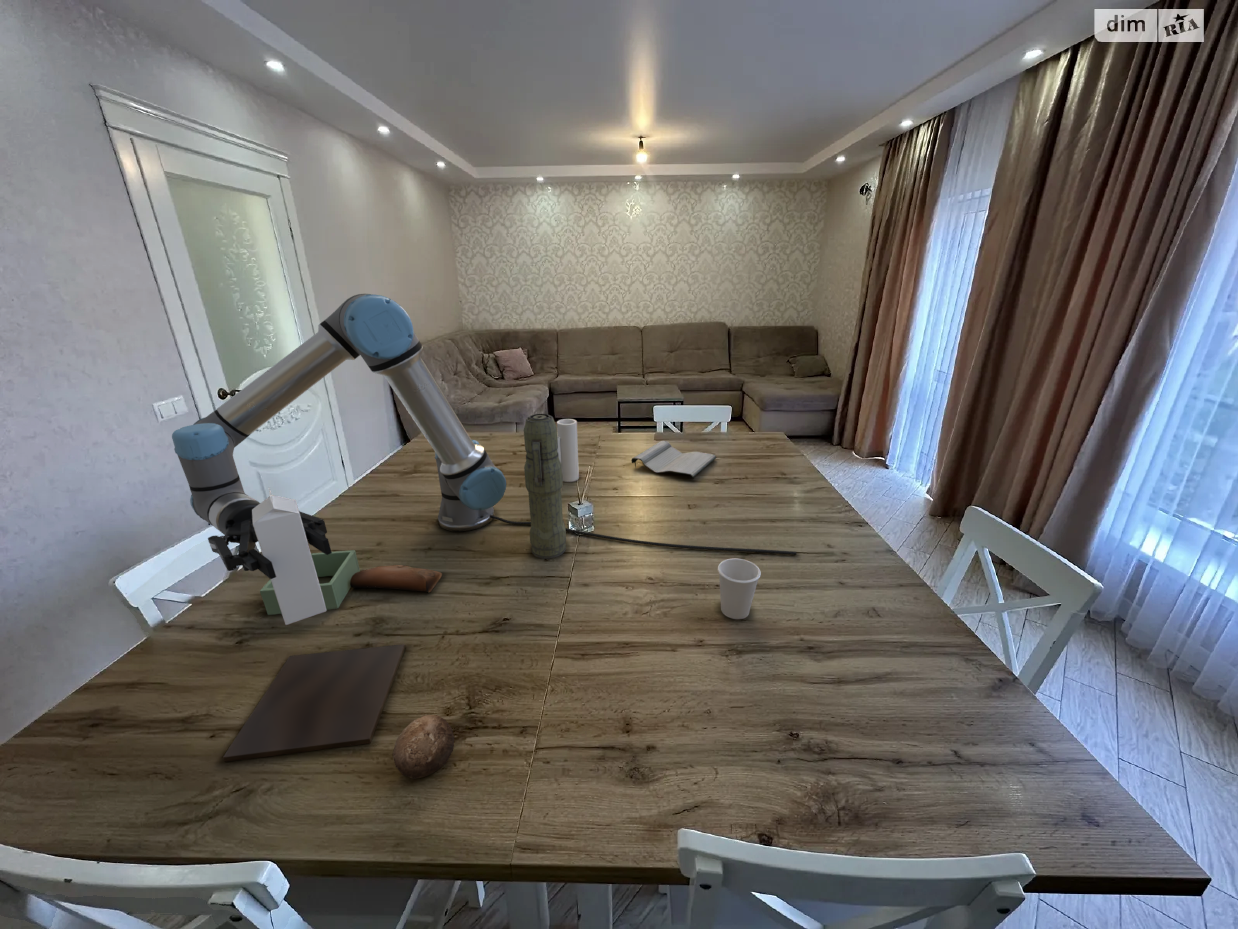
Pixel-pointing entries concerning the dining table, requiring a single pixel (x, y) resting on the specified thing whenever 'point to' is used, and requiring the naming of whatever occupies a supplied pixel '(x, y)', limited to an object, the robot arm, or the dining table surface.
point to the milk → (288, 558)
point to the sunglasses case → (396, 578)
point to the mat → (673, 459)
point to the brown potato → (423, 746)
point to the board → (320, 703)
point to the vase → (568, 449)
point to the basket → (325, 565)
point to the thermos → (544, 486)
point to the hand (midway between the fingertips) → (300, 558)
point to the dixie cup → (737, 586)
